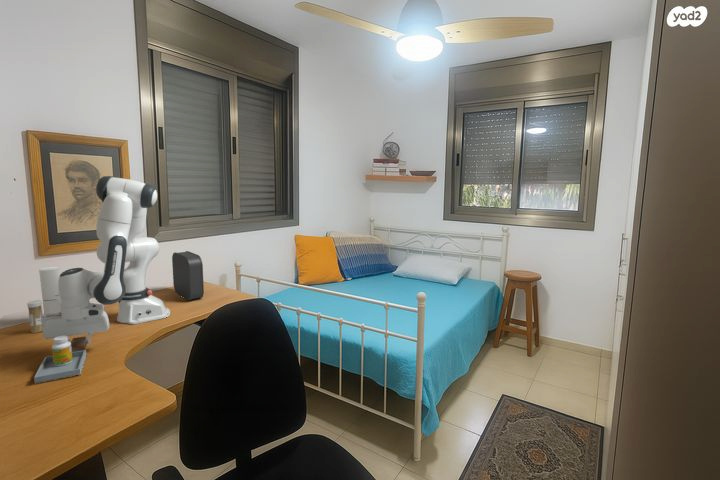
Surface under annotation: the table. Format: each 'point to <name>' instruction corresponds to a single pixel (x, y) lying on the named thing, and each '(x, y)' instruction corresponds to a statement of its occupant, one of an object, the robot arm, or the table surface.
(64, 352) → the supplement bottle
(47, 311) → the cylindrical container
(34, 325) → the sprinkles bottle
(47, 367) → the tray
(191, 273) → the speaker
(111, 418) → the table surface
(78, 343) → the walnut block
